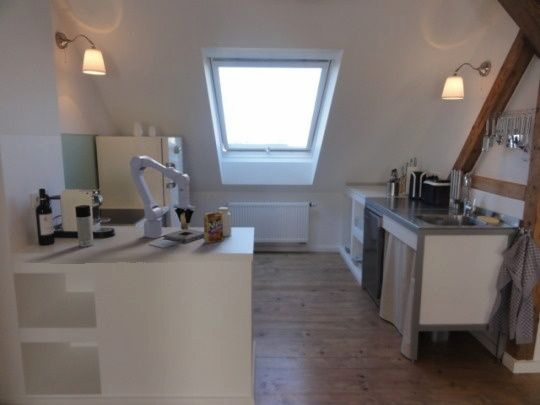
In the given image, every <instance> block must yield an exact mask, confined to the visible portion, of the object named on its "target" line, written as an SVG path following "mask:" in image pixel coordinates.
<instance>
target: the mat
mask: <svg viewBox="0 0 540 405" xmlns="http://www.w3.org/2000/svg"><path fill="white" fill-rule="evenodd" d="M177 244H180V242H178V241H173V240H168V239H163V240H159V241H156V242H153V243H149V246H152V247H156V248H161V249H165V247H166V248H168V247H171V246H174V245H177Z"/></svg>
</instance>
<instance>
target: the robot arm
mask: <svg viewBox="0 0 540 405" xmlns="http://www.w3.org/2000/svg"><path fill="white" fill-rule="evenodd" d="M129 165H130V176H131V178H132V180H133V184H134V185H135V187H136V189H137V191H138V194H139V195H140V198H141V200H142V203H143V205H144V206H143V212H144V218H145V219H146V220H144V223H143V235H142V236H143V237H145V238H150V239H158V238H161V237H164V235H166V234H167V233H166V234H165V233H163V224H162V217H163V215H164V210H163V209H162V207H161V206H160V204H159V203H158V202H156V201H155V199H154V197H153V195H152V193H151V191H150V188H149V186H148V184H147V182H146V180H145V177H144V175H143V174H144V171H145V170H146V169H147V168H151V169H154V170H156V171H158V172H160V173H162V174H163V175H164V177H165V178H166V179H169V180H171V181H173V182H175V184H176V186H177V197H178V198H177V199H178V203H173V204H172V205H173V207H172V208H173V209H174V212H175V214H176V215H177V218H178V220H179V223H181V219H180V214H181V213H185V217H186V223H189V224H190V223H191V220H192V216H193V214H194V212H195V211H196V206H194V205H191V204H190V182H191V177H190V176H189V175H188V173H183V172H182V171H179V170H176V169H175V167H173V166H172V167H171V166H169V167H168V166H164V165H163V164H161V163H159V162H158V161H157V160H155V159H153V158H152V157H151V156H148V155H146V154H144V155H143V154H142V155H134V156H132V157H131V159H130V161H129Z"/></svg>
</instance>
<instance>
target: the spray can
mask: <svg viewBox="0 0 540 405" xmlns="http://www.w3.org/2000/svg"><path fill="white" fill-rule="evenodd" d="M74 209H75V210H74V211H75V220H76V228H77V238H78V246H79V247H80V246H81V248H83V247H84V248H85V247H87V246H88V247H91V246H93V245H94V234H93V233H94V232H93V223H92V214H91V213H92V212H91V205H89V204H88V205H87V204H81V205H77V206H75V208H74Z"/></svg>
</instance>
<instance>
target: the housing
mask: <svg viewBox="0 0 540 405" xmlns="http://www.w3.org/2000/svg"><path fill="white" fill-rule="evenodd" d="M199 239H200V240H201V239H204V231H200V230H196V229H190V228H189V229H180V230H176V231H173V232H170V233H166V235H164V236H163V240H169V241H174V242H179V243H184V244H187V243H190V242H194V241H196V240H199Z"/></svg>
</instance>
